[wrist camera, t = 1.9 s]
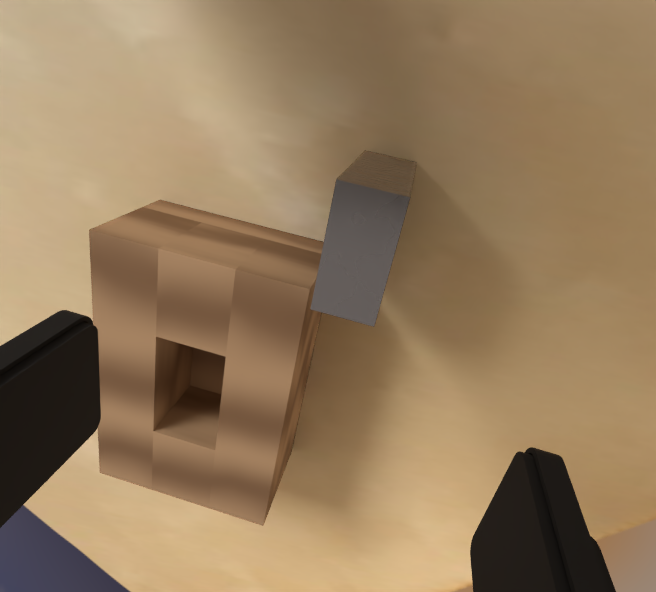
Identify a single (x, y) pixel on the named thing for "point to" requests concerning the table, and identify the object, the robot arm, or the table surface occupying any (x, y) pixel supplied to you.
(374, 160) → the grey rectangular block
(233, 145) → the table surface
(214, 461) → the tan slotted block
